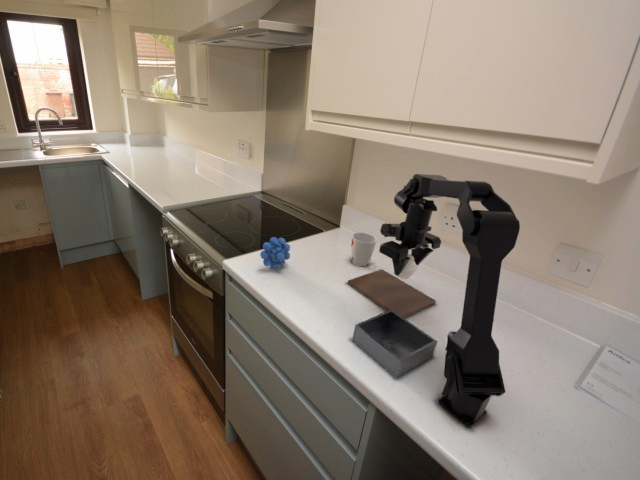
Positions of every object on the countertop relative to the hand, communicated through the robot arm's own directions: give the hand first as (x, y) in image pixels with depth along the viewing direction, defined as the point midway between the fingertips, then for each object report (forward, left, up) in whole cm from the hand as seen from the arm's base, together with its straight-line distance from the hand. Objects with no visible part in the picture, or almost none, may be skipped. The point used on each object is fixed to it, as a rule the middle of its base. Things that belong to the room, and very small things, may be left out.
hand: (404, 272), depth 96 cm
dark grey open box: (-12, +16, -11) cm, 23 cm away
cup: (+22, -9, -11) cm, 26 cm away
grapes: (+31, +21, -11) cm, 40 cm away
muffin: (0, 0, -2) cm, 2 cm away
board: (+4, -3, -11) cm, 12 cm away
